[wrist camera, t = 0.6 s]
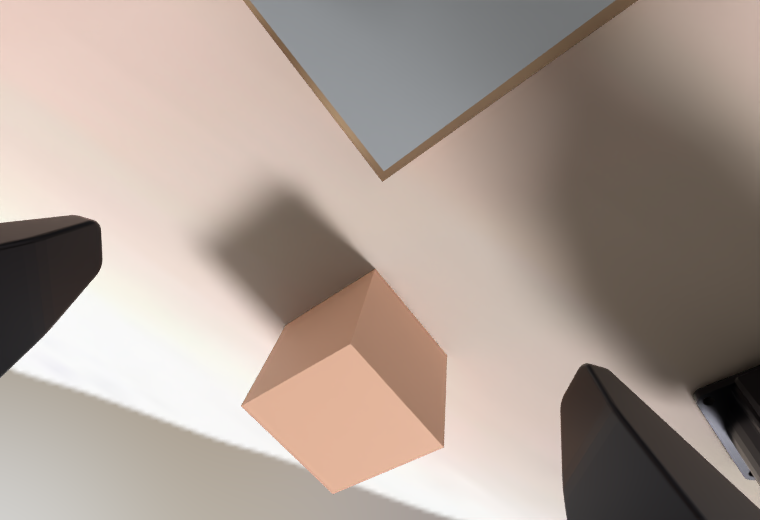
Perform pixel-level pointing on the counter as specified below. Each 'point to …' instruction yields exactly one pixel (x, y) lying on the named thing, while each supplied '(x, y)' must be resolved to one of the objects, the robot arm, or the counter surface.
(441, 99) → the grey slab
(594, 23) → the walnut slab
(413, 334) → the terracotta block
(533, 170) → the counter surface
